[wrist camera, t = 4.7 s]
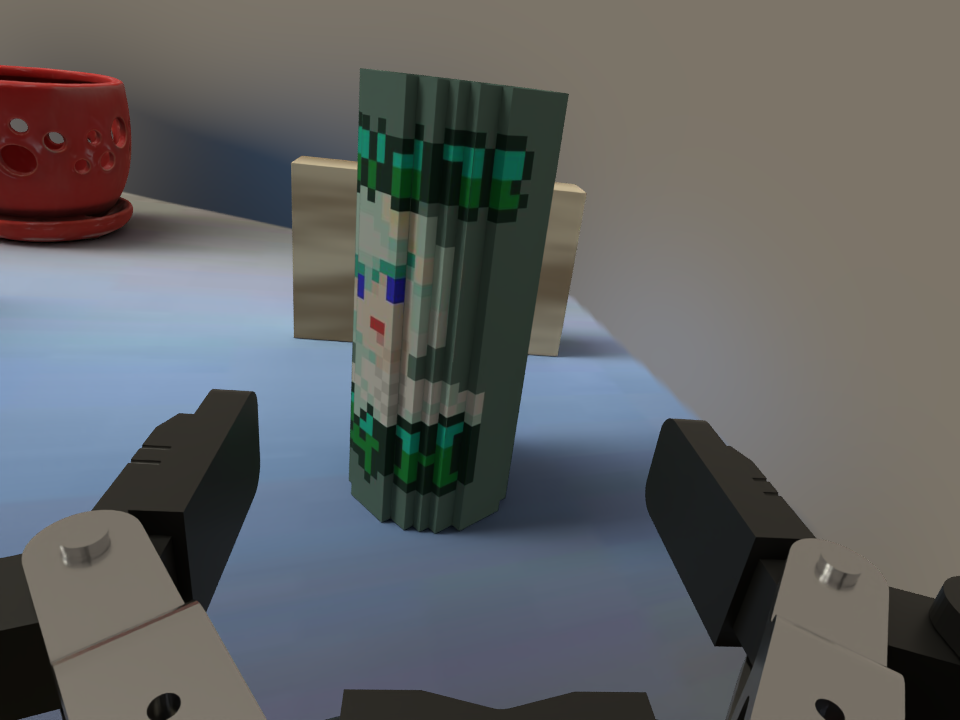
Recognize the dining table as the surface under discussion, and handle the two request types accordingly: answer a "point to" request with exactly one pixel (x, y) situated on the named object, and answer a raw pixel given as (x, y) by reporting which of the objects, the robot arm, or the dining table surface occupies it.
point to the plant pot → (62, 155)
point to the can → (445, 288)
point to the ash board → (331, 254)
